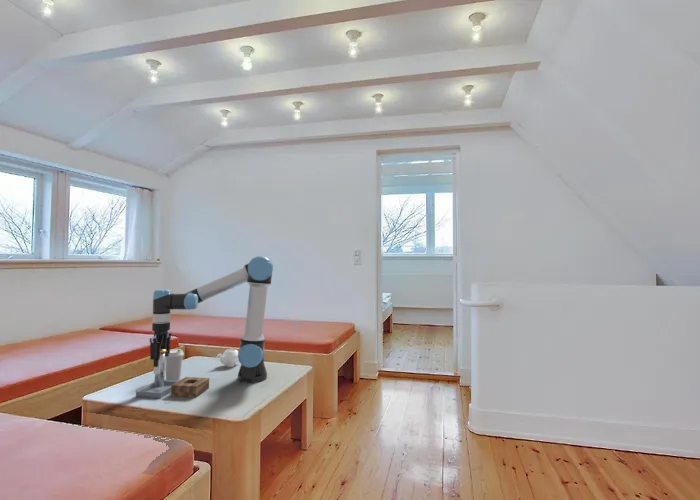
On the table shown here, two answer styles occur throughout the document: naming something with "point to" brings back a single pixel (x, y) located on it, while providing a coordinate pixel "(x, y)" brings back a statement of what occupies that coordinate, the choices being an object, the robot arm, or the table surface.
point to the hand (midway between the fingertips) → (159, 371)
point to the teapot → (229, 357)
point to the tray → (155, 390)
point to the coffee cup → (174, 365)
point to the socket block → (190, 387)
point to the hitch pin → (161, 370)
